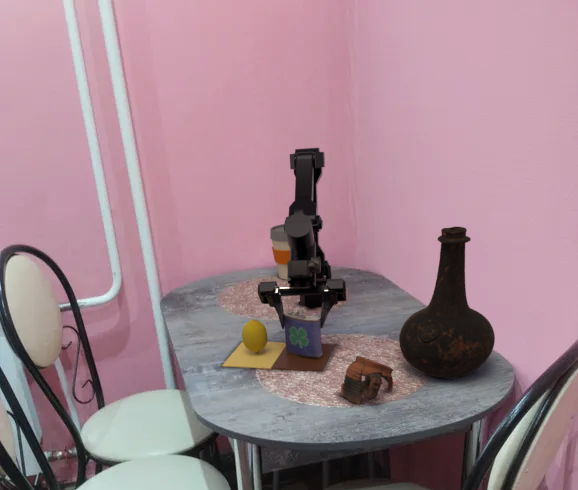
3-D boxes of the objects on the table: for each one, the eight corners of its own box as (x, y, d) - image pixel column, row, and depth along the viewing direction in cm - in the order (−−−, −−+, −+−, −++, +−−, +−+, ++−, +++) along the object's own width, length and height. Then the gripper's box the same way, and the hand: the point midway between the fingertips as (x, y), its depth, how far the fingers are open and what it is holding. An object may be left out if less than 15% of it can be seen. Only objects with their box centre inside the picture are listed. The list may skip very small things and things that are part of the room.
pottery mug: (331, 391, 117) (345, 350, 116) (374, 405, 119) (389, 366, 118) (349, 403, 105) (365, 358, 104) (396, 419, 108) (413, 375, 107)
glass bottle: (382, 374, 121) (381, 233, 109) (429, 345, 133) (433, 215, 120) (463, 397, 110) (473, 243, 98) (507, 363, 121) (521, 222, 109)
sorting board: (242, 342, 142) (242, 340, 142) (335, 345, 136) (335, 344, 136) (222, 366, 130) (221, 365, 130) (322, 371, 124) (322, 370, 124)
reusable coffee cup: (320, 272, 191) (318, 224, 185) (300, 283, 182) (296, 233, 175) (287, 268, 198) (283, 222, 191) (265, 279, 188) (261, 230, 182)
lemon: (270, 356, 132) (266, 322, 129) (244, 359, 132) (241, 325, 128) (267, 347, 137) (264, 313, 134) (243, 349, 137) (239, 316, 133)
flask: (325, 355, 130) (321, 308, 125) (317, 360, 128) (313, 313, 123) (290, 347, 135) (286, 302, 130) (282, 352, 133) (278, 307, 128)
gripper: (254, 244, 126) (251, 313, 121) (344, 240, 124) (345, 310, 119) (263, 270, 136) (260, 334, 132) (346, 267, 134) (346, 332, 129)
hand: (301, 327), depth 128 cm, fingers closed on flask, 8 cm apart
